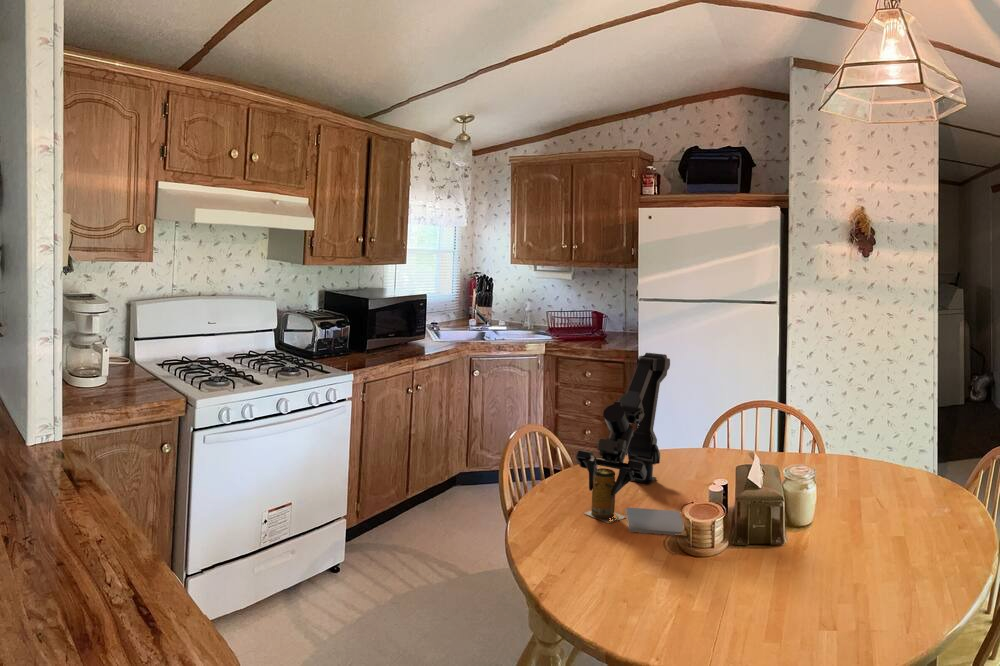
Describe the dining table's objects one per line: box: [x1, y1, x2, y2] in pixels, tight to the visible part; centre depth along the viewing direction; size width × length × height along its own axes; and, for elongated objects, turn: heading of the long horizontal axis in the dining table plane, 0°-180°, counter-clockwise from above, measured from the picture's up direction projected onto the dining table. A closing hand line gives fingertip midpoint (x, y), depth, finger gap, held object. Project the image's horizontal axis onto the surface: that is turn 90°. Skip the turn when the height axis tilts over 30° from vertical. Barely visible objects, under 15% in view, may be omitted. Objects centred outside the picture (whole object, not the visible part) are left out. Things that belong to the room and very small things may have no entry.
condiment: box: [584, 467, 626, 524], centre depth 179 cm, size 7×8×12 cm
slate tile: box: [625, 506, 684, 536], centre depth 176 cm, size 14×14×1 cm
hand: (601, 492), depth 178 cm, fingers closed on condiment, 6 cm apart
